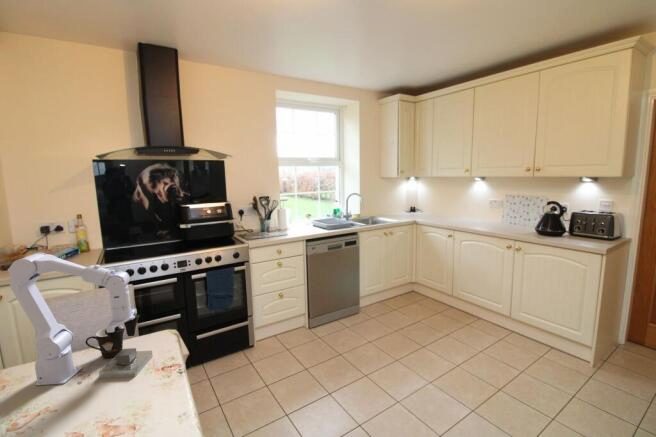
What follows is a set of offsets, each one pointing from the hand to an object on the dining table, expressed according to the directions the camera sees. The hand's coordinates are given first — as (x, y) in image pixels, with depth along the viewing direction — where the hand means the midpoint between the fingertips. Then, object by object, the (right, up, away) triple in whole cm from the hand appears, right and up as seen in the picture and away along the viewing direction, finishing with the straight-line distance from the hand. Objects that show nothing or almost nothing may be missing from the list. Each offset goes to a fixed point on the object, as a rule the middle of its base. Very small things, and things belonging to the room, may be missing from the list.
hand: (125, 341), depth 111 cm
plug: (0, -10, +1) cm, 10 cm away
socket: (0, -10, +1) cm, 10 cm away
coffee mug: (-12, -9, +9) cm, 18 cm away
